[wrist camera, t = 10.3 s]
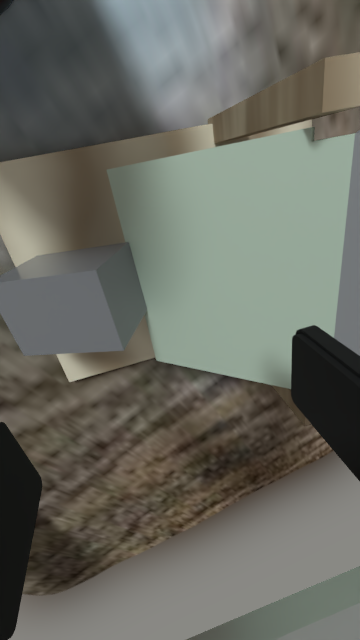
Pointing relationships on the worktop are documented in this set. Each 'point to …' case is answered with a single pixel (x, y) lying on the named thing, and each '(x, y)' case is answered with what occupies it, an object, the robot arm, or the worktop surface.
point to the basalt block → (73, 301)
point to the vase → (4, 5)
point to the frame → (93, 161)
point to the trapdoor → (246, 250)
